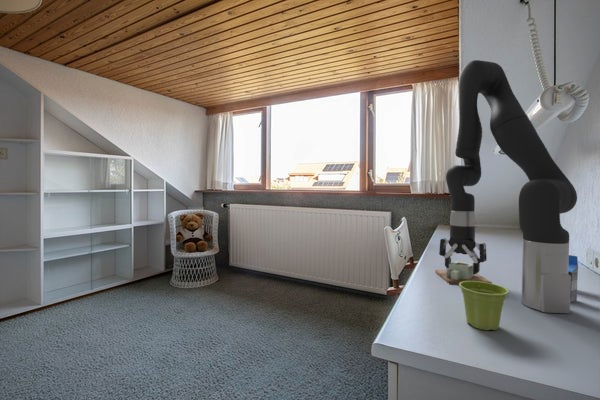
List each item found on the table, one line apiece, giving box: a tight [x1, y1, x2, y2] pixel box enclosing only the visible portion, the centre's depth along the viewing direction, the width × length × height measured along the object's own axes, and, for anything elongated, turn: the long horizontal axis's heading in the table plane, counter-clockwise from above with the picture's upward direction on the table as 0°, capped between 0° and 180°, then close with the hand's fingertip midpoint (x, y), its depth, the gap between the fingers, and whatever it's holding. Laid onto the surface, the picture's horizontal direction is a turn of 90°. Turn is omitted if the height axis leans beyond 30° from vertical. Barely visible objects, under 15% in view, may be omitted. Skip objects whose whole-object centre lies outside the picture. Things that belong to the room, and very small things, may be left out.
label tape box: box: [568, 254, 579, 303], centre depth 83 cm, size 9×4×12 cm, turn 27°
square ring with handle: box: [449, 260, 475, 280], centre depth 99 cm, size 10×6×4 cm, turn 131°
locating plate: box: [435, 265, 493, 285], centre depth 101 cm, size 13×13×4 cm
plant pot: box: [458, 281, 510, 331], centre depth 66 cm, size 9×9×9 cm
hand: (461, 271), depth 101 cm, fingers open, 8 cm apart
